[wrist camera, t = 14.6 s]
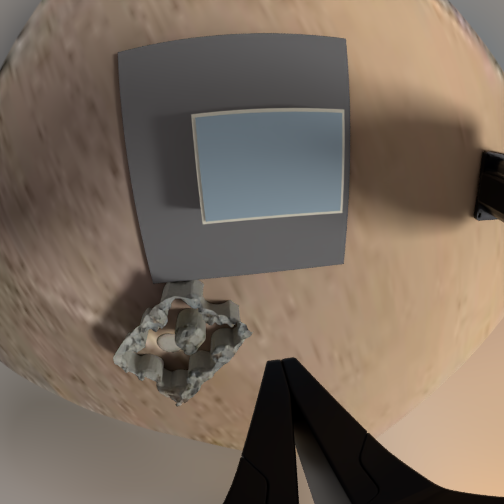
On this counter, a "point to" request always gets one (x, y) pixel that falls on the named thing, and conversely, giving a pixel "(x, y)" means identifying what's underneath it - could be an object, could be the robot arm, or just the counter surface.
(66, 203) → the counter surface
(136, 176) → the mat
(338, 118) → the card box
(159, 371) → the egg carton
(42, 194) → the counter surface
